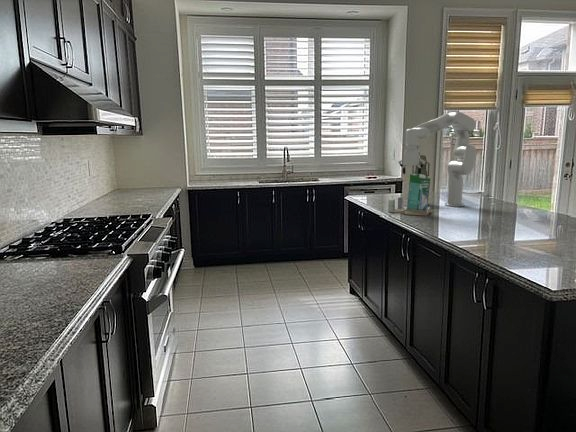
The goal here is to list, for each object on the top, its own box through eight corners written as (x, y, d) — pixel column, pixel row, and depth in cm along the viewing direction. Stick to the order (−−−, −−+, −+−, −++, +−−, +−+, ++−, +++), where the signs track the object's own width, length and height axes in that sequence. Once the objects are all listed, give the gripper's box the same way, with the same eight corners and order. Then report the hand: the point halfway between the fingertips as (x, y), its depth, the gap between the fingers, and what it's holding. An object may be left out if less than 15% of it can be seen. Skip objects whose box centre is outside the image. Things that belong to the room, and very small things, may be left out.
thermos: (429, 204, 317) (431, 155, 310) (412, 204, 318) (413, 156, 312) (427, 202, 325) (428, 155, 319) (410, 202, 327) (412, 155, 320)
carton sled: (391, 209, 300) (391, 197, 298) (430, 211, 289) (430, 199, 287) (386, 213, 287) (386, 201, 285) (426, 215, 276) (427, 203, 274)
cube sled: (399, 207, 306) (399, 196, 304) (421, 208, 299) (421, 197, 298) (397, 209, 299) (397, 197, 298) (419, 210, 293) (419, 198, 291)
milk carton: (416, 214, 280) (420, 175, 274) (406, 211, 287) (410, 173, 282) (426, 213, 284) (430, 174, 279) (416, 210, 292) (420, 173, 286)
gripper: (426, 147, 286) (426, 173, 289) (399, 147, 294) (399, 173, 297) (424, 147, 279) (424, 174, 283) (397, 148, 287) (397, 174, 291)
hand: (411, 174), depth 290 cm, fingers open, 9 cm apart
